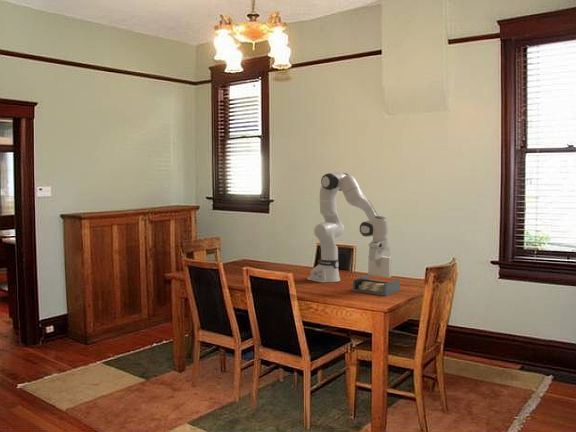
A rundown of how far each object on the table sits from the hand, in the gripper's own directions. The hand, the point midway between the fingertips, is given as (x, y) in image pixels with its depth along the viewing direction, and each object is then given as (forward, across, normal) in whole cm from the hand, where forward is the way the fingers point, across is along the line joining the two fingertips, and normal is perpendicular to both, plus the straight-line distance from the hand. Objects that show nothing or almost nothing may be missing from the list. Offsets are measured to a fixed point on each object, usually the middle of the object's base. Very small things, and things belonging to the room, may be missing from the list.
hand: (379, 265), depth 327 cm
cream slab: (+6, 0, 0) cm, 6 cm away
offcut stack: (+13, +9, 0) cm, 16 cm away
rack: (+15, +4, 0) cm, 15 cm away
